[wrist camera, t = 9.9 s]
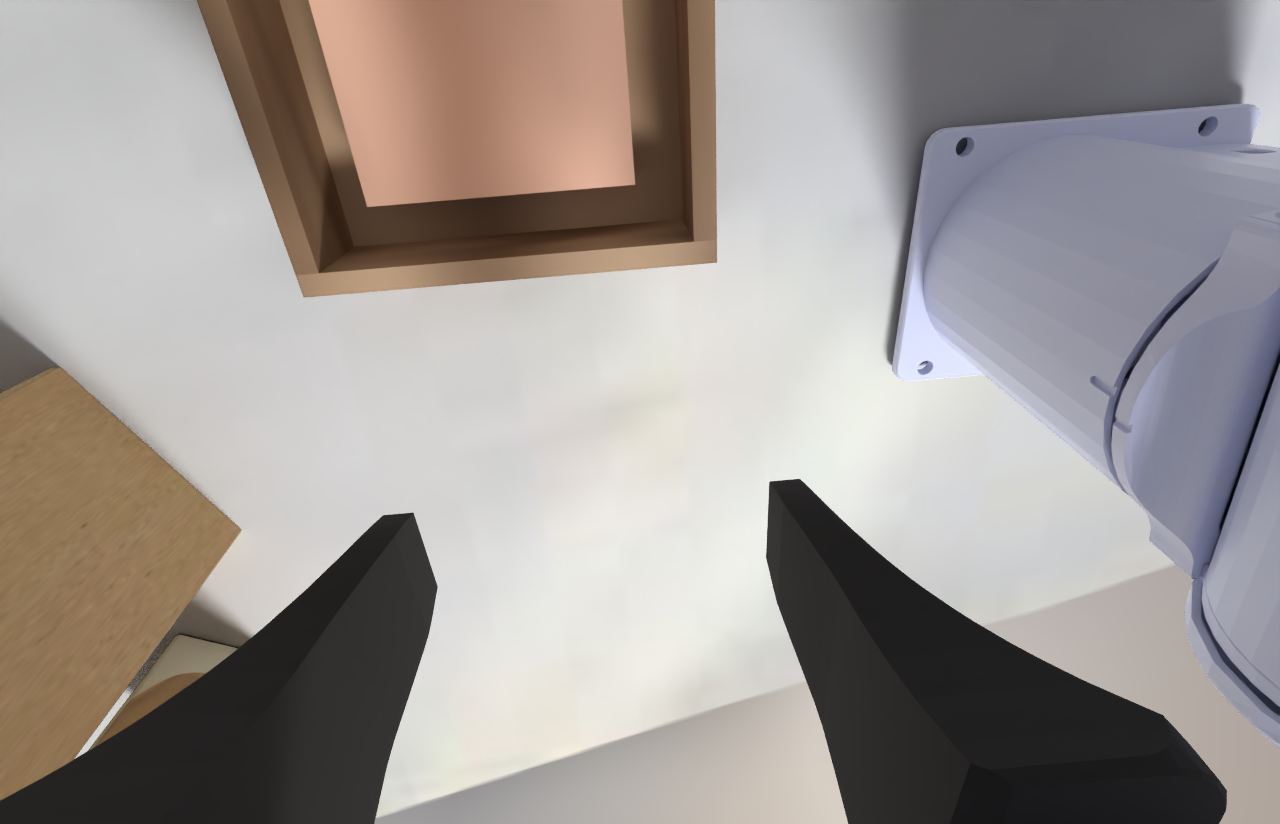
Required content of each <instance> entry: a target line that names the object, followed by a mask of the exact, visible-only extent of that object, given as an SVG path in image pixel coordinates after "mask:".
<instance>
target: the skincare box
mask: <svg viewBox="0 0 1280 824" xmlns="http://www.w3.org/2000/svg"><path fill="white" fill-rule="evenodd" d="M237 649H238V648H234V647H229V646H225V645H222V644H217V643H213V642H209V641H204V640H200V639H196V638H192V637H188V636H184V635H177V636H175V637H174V639H173V640H172V641H171V642H170V644H169V645H168V646H167V648H166V649H165V650H164V652H163V653H162V654H161V655H160V657H159V658H158V659H157V661H156V662H155V663H154V665H153V666H152V667H151V669H150V670H149V671H148V673H147V674H146V675H145V677H144V678H143V679H142V681H141V682H140V683H139V685H138V686H137V687H136V689H135V690H134V691H133V693H132V694H131V695H130V696H129V698H128V699H127V700H126V702H125V703H124V704H123V706H122V707H121V708H120V709H119V711H118V712H117V713H116V715H115V716H114V717H113V719H112V720H111V721H110V723H109V724H108V725H107V727H106V728H105V729H104V731H103V732H102V733H101V734H100V736H99V737H98V738H97V740H96V741H95V742H94V744H93V745H92V746H91V748H90V749H89V750H91V749H93V748H94V747H96V746H98V745H99V744H101V743H103V742H104V741H106V740H107V739H109V738H111V737H112V736H114V735H115V734H117V733H119V732H120V731H122V730H123V729H125V728H127V727H128V726H130V725H131V724H133V723H135V722H136V721H138V720H139V719H141V718H142V717H144V716H145V715H147V714H148V713H150V712H151V711H152V710H154V709H155V708H157V707H158V706H160V705H161V704H163V703H164V702H166V701H167V700H168V699H170V698H171V697H173V696H174V695H176V694H177V693H179V692H180V691H182V690H183V689H184V688H186V687H187V686H189V685H190V684H192V683H193V682H195V681H196V680H198V679H199V678H200V677H202V676H203V675H204V674H206V673H207V672H208V671H210V670H211V669H212V668H214V667H215V666H216V665H218V664H219V663H220V662H221V661H223V660H224V659H225V658H227V657H228V656H229V655H231V654H232V653H233V652H235V651H236V650H237ZM89 750H88V751H89ZM88 751H87V752H88Z"/></svg>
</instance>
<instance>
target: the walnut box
mask: <svg viewBox="0 0 1280 824" xmlns="http://www.w3.org/2000/svg"><path fill="white" fill-rule="evenodd" d="M197 2H198V5H199V8H200V11H201V13H202V16H203V19H204V22H205V24H206V27H207V30H208V33H209V36H210V38H211V41H212V44H213V47H214V49H215V52H216V55H217V58H218V61H219V63H220V66H221V69H222V72H223V74H224V77H225V80H226V83H227V86H228V88H229V91H230V94H231V97H232V99H233V102H234V105H235V108H236V111H237V113H238V116H239V119H240V122H241V124H242V127H243V130H244V133H245V136H246V138H247V141H248V144H249V147H250V149H251V152H252V155H253V158H254V160H255V163H256V166H257V169H258V172H259V174H260V177H261V180H262V183H263V185H264V188H265V191H266V194H267V197H268V199H269V202H270V205H271V208H272V210H273V213H274V216H275V219H276V222H277V224H278V227H279V230H280V233H281V235H282V238H283V241H284V244H285V247H286V249H287V252H288V255H289V258H290V260H291V263H292V266H293V269H294V272H295V274H296V277H297V280H298V283H299V285H300V288H301V291H302V294H303V297H315V296H326V295H338V294H350V293H362V292H374V291H386V290H397V289H409V288H421V287H433V286H445V285H457V284H468V283H480V282H492V281H504V280H516V279H528V278H539V277H551V276H563V275H575V274H587V273H598V272H610V271H622V270H634V269H646V268H658V267H669V266H681V265H693V264H705V263H717V214H716V91H715V0H197Z"/></svg>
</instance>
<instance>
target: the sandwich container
mask: <svg viewBox="0 0 1280 824" xmlns="http://www.w3.org/2000/svg"><path fill="white" fill-rule="evenodd" d="M240 532H241V529H240V528H239V527H238V526H237V525H236V524H235V523H234V522H233V521H231V520H230V519H229V518H228V517H227V516H226V515H225V514H224V513H223V512H221V511H220V510H219V509H218V508H217V507H216V506H215V505H214V504H213V503H211V502H210V501H209V500H208V499H207V498H206V497H205V496H204V495H203V494H201V493H200V492H199V491H198V490H197V489H196V488H195V487H194V486H193V485H191V484H190V483H189V482H188V481H187V480H186V479H185V478H184V477H183V476H182V475H180V474H179V473H178V472H177V471H176V470H175V469H174V468H173V467H172V466H170V465H169V464H168V463H167V462H166V461H165V460H164V459H163V458H162V457H160V456H159V455H158V454H157V453H156V452H155V451H154V450H153V449H152V448H150V447H149V446H148V445H147V444H146V443H145V442H144V441H143V440H142V439H140V438H139V437H138V436H137V435H136V434H135V433H134V432H133V431H131V430H130V429H129V428H128V427H127V426H126V425H125V424H124V423H123V422H121V421H120V420H119V419H118V418H117V417H116V416H115V415H114V414H112V413H111V412H110V411H109V410H108V409H107V408H106V407H105V406H104V405H102V404H101V403H100V402H99V401H98V400H97V399H96V398H95V397H93V396H92V395H91V394H90V393H89V392H88V391H87V390H86V389H85V388H83V387H82V386H81V385H80V384H79V383H78V382H77V381H76V380H74V379H73V378H72V377H71V376H70V375H69V374H68V373H67V372H66V371H64V370H63V369H62V368H61V367H51V368H49V369H47V370H45V371H43V372H41V373H39V374H37V375H35V376H33V377H31V378H29V379H27V380H25V381H23V382H21V383H19V384H17V385H15V386H13V387H11V388H9V389H7V390H6V391H4V392H2V393H0V800H2V799H4V798H6V797H8V796H10V795H11V794H13V793H15V792H17V791H19V790H21V789H23V788H24V787H26V786H28V785H30V784H32V783H34V782H36V781H37V780H39V779H41V778H43V777H45V776H46V775H48V774H50V773H52V772H53V771H55V770H57V769H59V768H60V767H62V766H64V765H66V764H67V763H69V762H71V761H72V760H74V758H75V757H76V756H77V754H78V753H79V752H80V750H81V749H82V748H83V746H84V745H85V743H86V742H87V741H88V739H89V738H90V737H91V735H92V734H93V733H94V731H95V730H96V729H97V727H98V726H99V725H100V723H101V722H102V720H103V719H104V718H105V716H106V715H107V714H108V712H109V711H110V710H111V708H112V707H113V706H114V704H115V703H116V702H117V700H118V699H119V697H120V696H121V695H122V693H123V692H124V691H125V689H126V688H127V687H128V685H129V684H130V683H131V681H132V680H133V679H134V677H135V676H136V674H137V673H138V672H139V670H140V669H141V668H142V666H143V665H144V664H145V662H146V661H147V660H148V658H149V657H150V656H151V654H152V653H153V651H154V650H155V649H156V647H157V646H158V645H159V643H160V642H161V641H162V639H163V638H164V637H165V635H166V634H167V633H168V631H169V630H170V628H171V627H172V626H173V624H174V623H175V622H176V620H177V619H178V618H179V616H180V615H181V614H182V612H183V611H184V609H185V608H186V607H187V605H188V604H189V603H190V601H191V600H192V598H193V597H194V596H195V594H196V593H197V591H198V590H199V589H200V587H201V586H202V585H203V583H204V582H205V580H206V579H207V578H208V576H209V575H210V574H211V572H212V571H213V569H214V568H215V567H216V565H217V564H218V563H219V561H220V560H221V558H222V557H223V556H224V554H225V553H226V552H227V550H228V549H229V547H230V546H231V545H232V543H233V542H234V540H235V539H236V538H237V536H238V535H239V534H240Z"/></svg>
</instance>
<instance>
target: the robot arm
mask: <svg viewBox="0 0 1280 824" xmlns="http://www.w3.org/2000/svg"><path fill="white" fill-rule="evenodd" d="M1259 117H1260V113H1259V109H1258V108H1257V107H1256V106H1255V105H1250V104H1228V105H1216V106H1204V107H1192V108H1180V109H1168V110H1156V111H1144V112H1132V113H1120V114H1108V115H1096V116H1084V117H1072V118H1060V119H1047V120H1035V121H1023V122H1011V123H999V124H987V125H975V126H963V127H951V128H943V129H940V130H937V131H936V132H935V133H933V134H932V135H931V136H930V138H929V139H928V140H927V143H926V146H925V149H924V156H923V163H922V169H921V176H920V183H919V190H918V196H917V203H916V210H915V216H914V223H913V230H912V236H911V243H910V250H909V256H908V263H907V270H906V276H905V283H904V290H903V297H902V303H901V310H900V317H899V323H898V330H897V337H896V343H895V350H894V357H893V363H892V371H893V372H894V374H895V375H896V376H897V377H898V379H900V380H902V381H919V380H930V379H942V378H953V377H965V376H977V375H985V376H986V377H987V378H989V379H990V380H991V381H992V382H993V383H995V384H996V385H997V386H998V387H999V388H1001V389H1002V390H1003V391H1004V392H1005V393H1007V394H1008V395H1009V396H1010V397H1011V398H1013V399H1014V400H1015V401H1016V402H1017V403H1019V404H1020V405H1021V406H1022V407H1023V408H1025V409H1026V410H1027V411H1028V412H1029V413H1031V414H1032V415H1033V416H1034V417H1035V418H1037V419H1038V420H1039V421H1040V422H1041V423H1043V424H1044V425H1045V426H1046V427H1047V428H1049V429H1050V430H1051V431H1052V432H1053V433H1055V434H1056V435H1057V436H1058V437H1059V438H1061V439H1062V440H1063V441H1064V442H1065V443H1067V444H1068V445H1069V446H1070V447H1071V448H1073V449H1074V450H1075V451H1076V452H1077V453H1079V454H1080V455H1081V456H1082V457H1083V458H1084V459H1086V460H1087V461H1088V462H1089V463H1090V464H1092V465H1093V466H1094V467H1095V468H1096V469H1098V470H1099V471H1100V472H1101V473H1102V474H1104V475H1105V476H1106V477H1107V478H1108V479H1110V480H1111V481H1112V482H1113V483H1114V484H1116V485H1117V486H1118V487H1119V488H1120V489H1122V490H1123V491H1124V492H1125V493H1127V494H1128V495H1129V496H1130V497H1131V498H1133V499H1134V500H1135V501H1136V502H1137V503H1138V504H1139V505H1140V506H1141V507H1142V508H1143V509H1144V511H1145V512H1146V513H1147V515H1148V517H1149V520H1150V525H1151V530H1150V537H1149V540H1150V542H1152V543H1153V544H1154V545H1155V546H1156V547H1157V548H1158V549H1159V550H1161V551H1162V552H1163V553H1164V554H1165V555H1166V556H1167V557H1168V558H1170V559H1171V560H1172V561H1173V562H1174V563H1175V564H1176V565H1177V566H1179V567H1180V568H1181V569H1182V570H1183V571H1184V572H1185V573H1187V574H1188V575H1189V576H1190V577H1191V578H1192V579H1195V580H1194V581H1193V582H1192V585H1191V588H1190V591H1189V594H1188V598H1187V603H1186V608H1185V620H1186V629H1187V635H1188V638H1189V641H1190V643H1191V646H1192V649H1193V652H1194V654H1195V656H1196V658H1197V660H1198V661H1199V663H1200V665H1201V666H1202V668H1203V670H1204V672H1205V673H1206V675H1207V677H1208V678H1209V679H1210V681H1211V682H1212V683H1213V684H1214V685H1215V687H1216V688H1217V689H1218V690H1219V691H1220V693H1221V694H1222V695H1223V697H1224V698H1225V699H1226V700H1227V701H1228V703H1229V704H1230V705H1231V706H1232V707H1234V708H1235V709H1236V710H1237V711H1238V712H1239V713H1240V714H1241V715H1242V716H1243V717H1244V718H1245V719H1246V720H1247V721H1248V722H1249V723H1250V724H1251V725H1252V726H1253V727H1254V728H1255V729H1257V730H1258V731H1259V732H1260V733H1262V734H1263V735H1264V736H1265V737H1267V738H1268V739H1269V740H1270V741H1272V742H1273V743H1274V744H1275V745H1277V746H1278V747H1279V748H1280V148H1276V147H1269V146H1261V145H1254V144H1250V142H1251V140H1252V137H1253V135H1254V132H1255V129H1256V127H1257V124H1258V122H1259ZM1205 119H1206V125H1205V126H1204V128H1203V130H1202V131H1201V132H1199V133H1198V130H1199V126H1200V124H1201V123H1202V122H1203V121H1204V120H1205ZM962 138H966V139H967V146H966V149H965V150H964V151H963V152H962V153H961V154H958V155H957V153H956V146H957V143H958V142H959V141H960V140H961V139H962ZM924 361H928V363H927V365H926V366H925V367H924V368H923V369H920V370H918V369H917V368H918V366H919V365H920V364H921V363H922V362H924ZM766 558H767V563H768V567H769V571H770V576H771V580H772V584H773V588H774V592H775V596H776V600H777V603H778V606H779V609H780V612H781V614H782V617H783V620H784V623H785V625H786V628H787V631H788V633H789V636H790V639H791V641H792V644H793V647H794V649H795V652H796V655H797V657H798V660H799V662H800V665H801V668H802V670H803V673H804V676H805V678H806V681H807V684H808V686H809V689H810V692H811V694H812V697H813V699H814V702H815V705H816V708H817V711H818V714H819V717H820V720H821V723H822V726H823V730H824V733H825V737H826V740H827V744H828V748H829V752H830V755H831V759H832V763H833V766H834V770H835V774H836V777H837V781H838V785H839V789H840V793H841V797H842V801H843V804H844V808H845V812H846V816H847V820H848V824H1219V822H1220V821H1221V819H1222V817H1223V815H1224V813H1225V811H1226V805H1227V790H1226V789H1225V788H1224V786H1223V785H1222V784H1221V782H1220V781H1219V779H1218V778H1217V777H1216V776H1215V774H1214V773H1213V772H1212V771H1211V770H1210V769H1209V767H1208V766H1207V765H1206V764H1205V762H1204V761H1203V760H1202V759H1201V758H1200V756H1199V755H1198V754H1197V753H1196V752H1195V750H1194V749H1193V748H1192V747H1191V746H1190V744H1189V743H1188V742H1187V741H1186V740H1185V739H1184V738H1183V737H1182V736H1181V734H1180V733H1179V732H1178V731H1177V730H1176V729H1175V728H1174V727H1173V726H1172V725H1171V724H1170V723H1169V721H1168V720H1166V719H1165V717H1164V716H1163V715H1161V714H1159V713H1156V712H1154V711H1152V710H1150V709H1147V708H1145V707H1143V706H1140V705H1138V704H1136V703H1134V702H1131V701H1129V700H1127V699H1124V698H1122V697H1120V696H1117V695H1115V694H1113V693H1111V692H1108V691H1106V690H1104V689H1101V688H1099V687H1097V686H1095V685H1092V684H1090V683H1088V682H1086V681H1084V680H1081V679H1079V678H1077V677H1075V676H1073V675H1071V674H1069V673H1067V672H1065V671H1063V670H1061V669H1059V668H1057V667H1055V666H1053V665H1051V664H1049V663H1047V662H1045V661H1043V660H1041V659H1039V658H1037V657H1035V656H1034V655H1032V654H1030V653H1028V652H1026V651H1024V650H1022V649H1021V648H1018V647H1017V646H1015V645H1013V644H1011V643H1010V642H1008V641H1006V640H1004V639H1003V638H1001V637H999V636H997V635H996V634H994V633H992V632H991V631H989V630H987V629H985V628H984V627H982V626H981V625H979V624H977V623H975V622H974V621H972V620H971V619H969V618H967V617H966V616H964V615H963V614H961V613H959V612H958V611H956V610H955V609H953V608H952V607H950V606H949V605H947V604H946V603H944V602H943V601H942V600H940V599H939V598H937V597H936V596H934V595H933V594H931V593H930V592H928V591H927V590H925V589H924V588H923V587H921V586H920V585H919V584H917V583H916V582H914V581H913V580H912V579H910V578H909V577H908V576H906V575H905V574H904V573H903V572H901V571H900V570H899V569H898V568H896V567H895V566H894V565H893V564H891V563H890V562H889V561H888V560H886V559H885V558H884V557H883V556H882V555H881V554H879V553H878V552H877V551H876V550H875V549H873V548H872V547H871V546H870V545H869V544H868V543H867V542H866V541H865V540H863V539H862V538H861V537H860V536H859V535H858V534H857V533H856V532H854V531H853V530H852V529H851V528H850V527H849V526H848V525H847V524H846V523H845V522H844V521H843V520H841V519H840V518H839V517H838V516H837V515H836V514H835V513H834V512H833V511H832V510H831V509H830V508H829V507H828V506H827V505H826V504H825V503H824V502H823V501H822V500H821V499H820V498H819V497H818V496H817V495H816V494H815V493H814V492H813V491H812V490H811V489H810V488H809V487H808V486H807V485H806V484H805V483H804V482H802V481H801V480H800V479H794V480H783V481H772V482H770V483H769V506H768V529H767V553H766ZM436 592H437V584H436V581H435V578H434V575H433V571H432V568H431V565H430V562H429V559H428V556H427V553H426V550H425V547H424V544H423V541H422V538H421V535H420V532H419V529H418V526H417V522H416V519H415V516H414V513H405V514H394V515H383V516H382V517H381V518H380V519H379V520H378V521H377V522H375V523H374V524H373V525H372V526H371V527H370V528H369V529H368V530H367V531H366V532H365V533H364V534H363V535H362V536H361V537H360V538H359V539H358V540H357V541H356V542H355V543H354V544H353V545H352V546H351V547H350V548H349V549H348V550H347V551H346V552H345V553H344V554H343V555H342V556H341V557H340V558H339V559H338V560H337V561H336V562H335V563H333V564H332V565H331V566H330V567H329V568H328V569H327V570H326V571H325V572H324V573H323V574H322V575H321V576H320V577H319V578H318V579H317V580H316V581H315V582H314V583H313V584H312V585H311V586H310V587H309V588H308V589H306V590H305V591H304V592H303V593H302V594H301V595H300V596H299V597H298V598H296V599H295V600H294V601H293V602H292V603H291V604H290V605H289V606H287V607H286V608H285V609H284V610H283V611H282V612H281V613H280V614H278V615H277V616H276V617H275V618H274V619H273V620H272V621H271V622H269V623H268V624H267V625H266V626H265V627H264V628H263V629H262V630H260V631H259V632H258V633H257V634H256V635H254V636H253V637H252V638H251V639H249V640H248V641H247V642H246V643H245V644H243V645H242V646H241V647H240V648H238V649H237V650H236V651H235V652H233V653H232V654H231V655H229V656H228V657H227V658H225V659H224V660H223V661H221V662H220V663H219V664H218V665H216V666H215V667H214V668H212V669H211V670H210V671H208V672H207V673H206V674H204V675H203V676H202V677H200V678H199V679H198V680H196V681H195V682H193V683H192V684H190V685H189V686H187V687H186V688H184V689H183V690H182V691H180V692H179V693H177V694H176V695H174V696H173V697H171V698H170V699H168V700H167V701H166V702H164V703H163V704H161V705H160V706H158V707H157V708H155V709H154V710H152V711H151V712H150V713H148V714H147V715H145V716H144V717H142V718H141V719H139V720H138V721H136V722H135V723H133V724H131V725H130V726H128V727H127V728H125V729H123V730H122V731H120V732H119V733H117V734H115V735H114V736H112V737H111V738H109V739H107V740H106V741H104V742H103V743H101V744H99V745H98V746H96V747H94V748H93V749H91V750H89V751H88V752H86V753H84V754H83V755H81V756H79V757H78V758H76V759H74V760H72V761H71V762H69V763H67V764H66V765H64V766H62V767H60V768H59V769H57V770H55V771H53V772H52V773H50V774H48V775H46V776H45V777H43V778H41V779H39V780H37V781H36V782H34V783H32V784H30V785H28V786H26V787H24V788H23V789H21V790H19V791H17V792H15V793H13V794H11V795H10V796H8V797H6V798H4V799H2V800H0V824H374V821H375V817H376V813H377V808H378V804H379V799H380V795H381V790H382V786H383V781H384V777H385V772H386V768H387V764H388V760H389V757H390V753H391V750H392V746H393V743H394V740H395V736H396V733H397V730H398V727H399V724H400V721H401V718H402V715H403V712H404V709H405V706H406V703H407V700H408V697H409V694H410V691H411V688H412V685H413V682H414V679H415V676H416V673H417V670H418V666H419V663H420V660H421V657H422V654H423V651H424V648H425V645H426V641H427V638H428V635H429V630H430V625H431V620H432V615H433V610H434V604H435V598H436Z"/></svg>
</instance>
